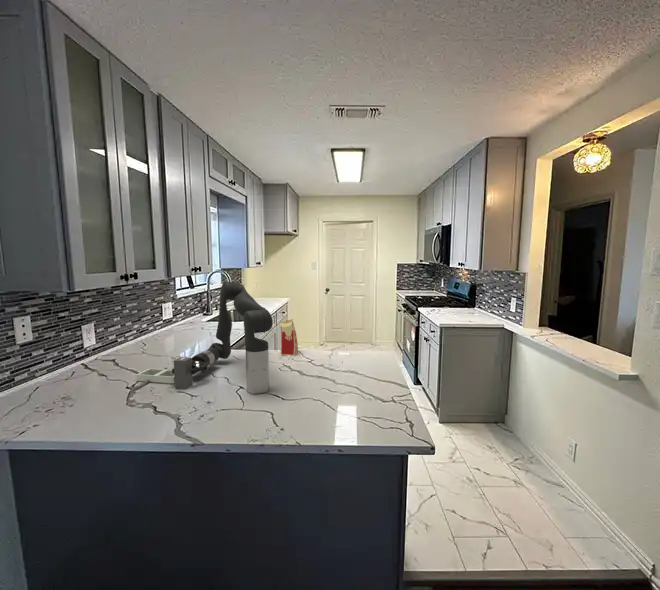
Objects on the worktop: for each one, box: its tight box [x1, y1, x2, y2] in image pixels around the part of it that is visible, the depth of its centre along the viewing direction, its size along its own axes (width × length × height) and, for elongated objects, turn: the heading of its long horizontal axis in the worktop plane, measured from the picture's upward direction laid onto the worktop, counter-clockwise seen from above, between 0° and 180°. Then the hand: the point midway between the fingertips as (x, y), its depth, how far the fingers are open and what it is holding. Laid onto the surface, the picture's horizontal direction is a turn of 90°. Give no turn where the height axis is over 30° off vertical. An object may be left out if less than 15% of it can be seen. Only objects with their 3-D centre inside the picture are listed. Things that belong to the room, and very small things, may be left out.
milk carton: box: [280, 318, 299, 357], centre depth 190 cm, size 9×9×20 cm
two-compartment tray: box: [132, 368, 175, 391], centre depth 147 cm, size 17×18×3 cm
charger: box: [173, 356, 194, 390], centre depth 143 cm, size 5×5×12 cm
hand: (182, 372), depth 142 cm, fingers open, 8 cm apart
